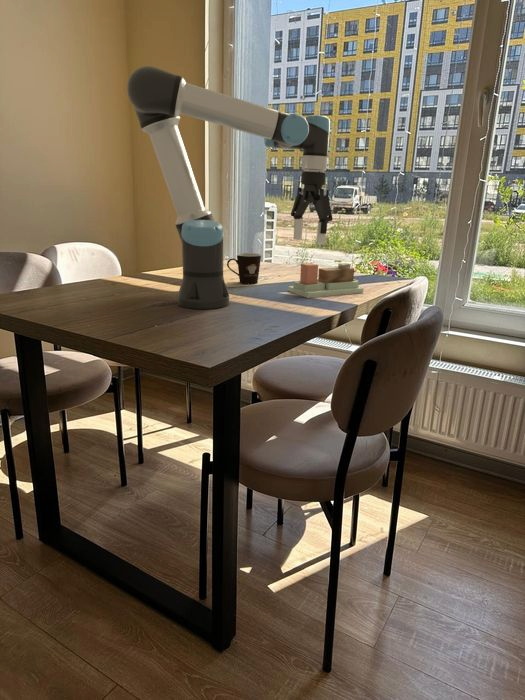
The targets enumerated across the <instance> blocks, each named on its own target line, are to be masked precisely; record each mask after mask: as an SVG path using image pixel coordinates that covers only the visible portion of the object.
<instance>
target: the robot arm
mask: <svg viewBox="0 0 525 700" xmlns="http://www.w3.org/2000/svg"><path fill="white" fill-rule="evenodd" d="M126 90H127V96H128V99H129V101H130V103H131V104H132V107H133V109H134V111H135V114H136V117H137V120H138V123H139V126H140V128H141V131H142V132H144V133H146V134H147V135H149V138H150V141H151V144H152V146H153V150H154V153H155V156H156V158H157V161H158V164H159V167H160V170H161V172H162V175H163V178H164V181H165V184H166V186H167V189H168V193H169V195H170V198H171V201H172V203H173V207H174V210H175V212H176V215H177V218H176V221H175V223H174V224H175V228H176V229H177V230H176V231H177V234H178V236H179V239H180V241H181V242H180V243H181V246H182V247H181V251H182V252H181V254H182V280H181V283H180V286H179V288H178V289H179V290H178V293H177V296H176V297H177V305H178V306H180V307H182V308H183V307H184V308H186V309H187V308H188V309H196V310H197V309H198V310H207V309H208V310H210V309H219V308H220V309H221V308H223V307H227V306H229V305H230V295H229V291H228V287H227V284H226V282H225V281H226V280H225V278H224V237H225V232H224V227H223V225H222V223H220V222H218V221H215V220H214V216H213V213H212V211H210V209H209V210H208V209H207V208H206V207H205V205H204V202H203V199H202V196H201V193H200V190H199V187H198V183H197V181H196V177H195V174H194V171H193V169H192V166H191V162H190V160H189V156H188V153H187V150H186V147H185V145H184V141H183V139H182V138H183V137H182V136H181V133H180V130H179V123H180V120H181V115H184V116H187V117H191V118H195V119H198V120H201V121H204V122H208V123H212V124H215V125H218V126H222V127H225V128H228V129H233V130H236V131H240V132H243V133H247V134H250V135H253V136H257V137H260V138H263V141H264V142H263V143H264V145H265V146H266V148H273V149H275V150H276V149H285V150H286V149H287V150H288V149H289V150H300V151H301V150H302V152H303V153H302V162H301V170H302V172H301V174H300V175H301V176H300V183H301V184H302V185H303V187H301V186H298V187H297V193H296V197H295V200H294V202H293V205H292V209H291V213H290V216H291V217H293V219H294V222H293V223H294V225H293V238H292V239H293V240H297V241H298V240H299V241H301V240H302V237H303V228H304V227H303V225H304V224H303V223H304V217H303V216H304V214H305V212H306V210H307V208H308V206H309V205H310V204H312V205H314V210H315V211H316V214H317V216H318V219H319V220H318V222H317V230H316V231H317V232H316V242H315V243H316V245H318V246H319V245H321V246H322V245H323V246H324V245H326V237H327V229H328V223H329V222H331V221H333V213H332V209H331V202H330V198H329V194H330V193H329V190H330V189H329V188H323V186H325V185H326V182H327V181H326V180H327V173H326V171H327V167H328V166H327V165H328V153H329V145H330V136H331V130H330V129H331V120H330V118H329V117H327V116H326V115H313V114H312V115H306V117H304V116H303V115H301V114H297V113H296V114H295V113H294V114H293V113H292V114H289V113H286V112H283V111H279V110H276V109H273V108H270V107H267V106H264V105H260V104H257V103H255V102H254V103H253V102H250V101H246V100H244V99H242V98H238V97H234V96H230V95H228V94H224V93H221V92H218V91H215V90H211V89H209V88H208V89H207V88H205V87H201V86H198V85H194V84H192V83H190V82H189V83H188V82H187V81H186V79H185V78H184V77H183V76H180V75H177V74H175V73H172V72H168V71H166V70H163V69H161V68H158V67H155V66H152V65H143V66H140V67H138V68H136V69H135V70H134V71H133V72H132V73H131V74H130V76H129V78H128V81H127V86H126Z"/></svg>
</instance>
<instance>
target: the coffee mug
mask: <svg viewBox="0 0 525 700" xmlns="http://www.w3.org/2000/svg"><path fill="white" fill-rule="evenodd" d="M236 258H237V259H236ZM236 258H230V259H228V260H227V264H226V267H227V268H228V269H229V270H230V271H231V272H232V273H234V274H235V275H236V276H238V278H239V284H242V285H257V284H258V282H259V276H260V275H259V274H260V267H261V259H262V254H261V253H257V252H256V253H255V252H253V253H252V252H240V253H237V254H236ZM231 261H235V263H236V265H237V269H238V272H236V271H235V270H233V269H232V268H231V267H230V266H229V265H230V264H229V263H230V262H231Z"/></svg>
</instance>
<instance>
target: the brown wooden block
mask: <svg viewBox="0 0 525 700" xmlns="http://www.w3.org/2000/svg"><path fill="white" fill-rule="evenodd" d="M337 266H338V267H323V268H322V267H321V268H319V267H318V277H317V279H318V281H319V282H322V283H325V289H326V283H337V282H349V281H353V279H355V278H354V277H355V269H354V268H353V267H351V263H347V262H344V263H343V262H342V263H340V262H339V263H338V265H337Z"/></svg>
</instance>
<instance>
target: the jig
mask: <svg viewBox="0 0 525 700" xmlns="http://www.w3.org/2000/svg"><path fill="white" fill-rule="evenodd" d="M287 290H288V292H290V293H293V294H296V295H299V296H300V297H304V298H307V299H309V298H320V297H331V296H342V295H351V294H361V293H362V294H363V293H364V287H360V281H359V279H355V278H354V279H353V281H349V282H337V283H326V289H325V283H322V282H319V281H318V278H317V284H310V285H305V284H302V283H300V280H297V281H293V284H292V285H288V287H287Z"/></svg>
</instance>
